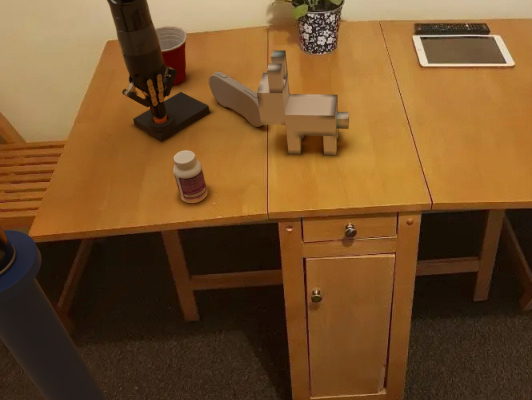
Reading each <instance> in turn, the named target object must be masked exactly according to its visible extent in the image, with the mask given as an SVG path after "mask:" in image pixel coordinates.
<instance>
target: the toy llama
mask: <svg viewBox="0 0 532 400" xmlns="http://www.w3.org/2000/svg"><path fill="white" fill-rule="evenodd" d="M270 61H271V63H268V65H267V69H266V72H262V75H261V79H260V82H259V85H258V88H257V91H256V93H257V97H258V104H259V112H260V119H261V125H262V126H265V125H267V126H270V125H271V126H285V131H286V142H287V152H288V155H301V153H302V148H303V145H302V141H304V138H305V136H312V137H313V136H315V137H316V136H317V137H322V139H323V156H337V151H338V141H339V135H340V134H339V130H349V127H350V111H339V101H338V98H339V97H338V96H339V95H338V94H327V93H326V94H323V93H322V94H321V93H320V94H319V93H318V94H317V93H315V94H314V93H290V84H289V83H290V82H289V72H288V64H287V63H288V62H287V51H286V50H285V49H284V50H283V49H282V50H278V49H277V50H276V49H275V50H274V49H273V50H272V51H271V55H270Z"/></svg>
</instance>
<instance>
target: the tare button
mask: <svg viewBox="0 0 532 400" xmlns="http://www.w3.org/2000/svg"><path fill="white" fill-rule="evenodd" d="M166 121H167V116H166V115H165V117H163V118H161V119H158V118H156V117H154V122H155V124H162V123H165V122H166Z"/></svg>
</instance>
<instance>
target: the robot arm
mask: <svg viewBox="0 0 532 400" xmlns="http://www.w3.org/2000/svg"><path fill="white" fill-rule="evenodd" d="M106 1H107V4H108V6H109V9H110V15H111V17H112V21H113V23H114V27H115V31H116V37H117V42H118V44H119V48H120V51H121V54H122V58H123V61H124V64H125V67H126V71H127V72H128V82H129V85H128V87H127V88H124V89H122V92H121V93H122V95H124V96H125V97H127V98H129V99H130V100H131V101H135V102H136V103H138V104H140V105H141V106H144V107H145V108H149V109H150V110H151V114H152V115H153V116H154V117H156V118H158V119H161V118H163V117H165V113H166V109H165V105H164V101H165V98H166V97H170V95H171V92H172V89H173V87H174V86H173V83H174V80H175V77H176V74H177V70H175V69H173V68H171V67H169V66H167V67H166V65H165V64H164V63H163V62H164V60H163V56H162V52H161V48H160V44H159V40H158V36H157V32H156V26H155V24H154V22H153V19H152V14H151V10H150V6H149V3H148V0H106ZM166 84H167V85H166ZM138 90H139V91H141V93H142V95H143V96H144V98H143V97H141V96H139V93H138ZM16 258H17V252H16V250H15V248H14V246H13V245H12V244H11V242H10V241H9V239H8V238H7V236H6V234H5V233H4V229H3V228H2V226H1V225H0V277H1V276H3V275H4V274H5V273H7V272H8V271H9V270H10V269H11V268H12V266H13V265H14V263H15V261H16Z"/></svg>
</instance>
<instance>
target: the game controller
mask: <svg viewBox="0 0 532 400" xmlns="http://www.w3.org/2000/svg"><path fill="white" fill-rule="evenodd" d="M208 84H209V85H208V86H209V88H210V92H211V94H212V96H213V97H214V99H215V100H216V102H217V103H218V104H219V105H221V106H222V107H223V108H230V109H231V110H232V111H234V112H236V113H238V114H239V115H241V116H242V117H244V118H245V120H246V121H247V122H248V123H249V124H250V125H252V126H253V127H256V128H259V127H262V126H263V125H261V119H260V112H259V104H258V97H257V91H255V90H253V89H251V88H249V87H248V86H246V85H245V84H243V83H242V82H240V81H238V80H236V79H234V78H233V77H231V76H229V75H228V74H226V73H224V72H222V71H215V72H214V73H213V74H211V75H210V76H209V78H208Z"/></svg>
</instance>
